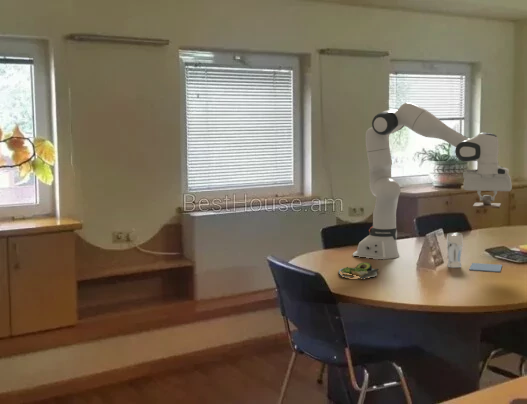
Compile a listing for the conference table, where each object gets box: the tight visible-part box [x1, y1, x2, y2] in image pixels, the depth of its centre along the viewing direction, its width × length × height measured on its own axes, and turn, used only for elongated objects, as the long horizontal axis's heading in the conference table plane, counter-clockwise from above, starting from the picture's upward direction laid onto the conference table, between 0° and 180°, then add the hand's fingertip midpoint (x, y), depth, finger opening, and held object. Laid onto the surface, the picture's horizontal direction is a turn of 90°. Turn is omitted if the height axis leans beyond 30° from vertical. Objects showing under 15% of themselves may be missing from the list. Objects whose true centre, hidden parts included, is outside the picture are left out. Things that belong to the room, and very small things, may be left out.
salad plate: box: [338, 262, 379, 280], centre depth 291 cm, size 19×18×5 cm
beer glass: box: [446, 232, 464, 269], centre depth 303 cm, size 7×7×15 cm
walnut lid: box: [472, 194, 502, 209], centre depth 296 cm, size 11×11×5 cm
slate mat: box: [468, 262, 503, 273], centre depth 300 cm, size 13×13×1 cm
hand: (487, 200), depth 296 cm, fingers closed on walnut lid, 3 cm apart
